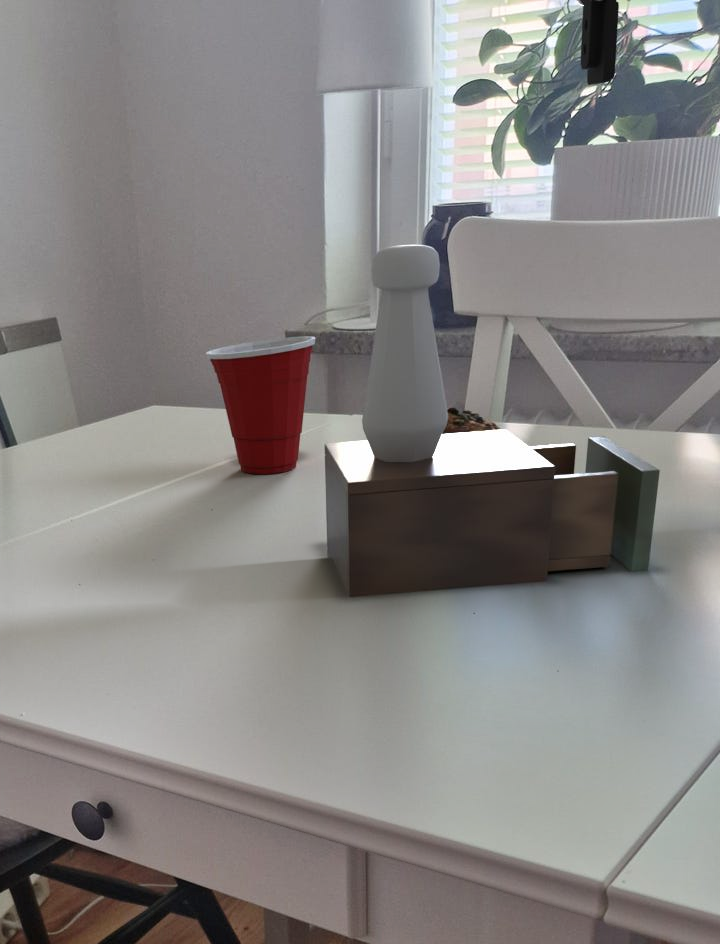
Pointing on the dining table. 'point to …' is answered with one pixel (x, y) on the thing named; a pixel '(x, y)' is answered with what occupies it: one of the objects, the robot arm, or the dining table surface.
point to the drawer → (601, 507)
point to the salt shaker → (404, 359)
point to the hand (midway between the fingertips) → (679, 74)
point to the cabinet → (439, 515)
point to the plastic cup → (265, 399)
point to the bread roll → (467, 422)
